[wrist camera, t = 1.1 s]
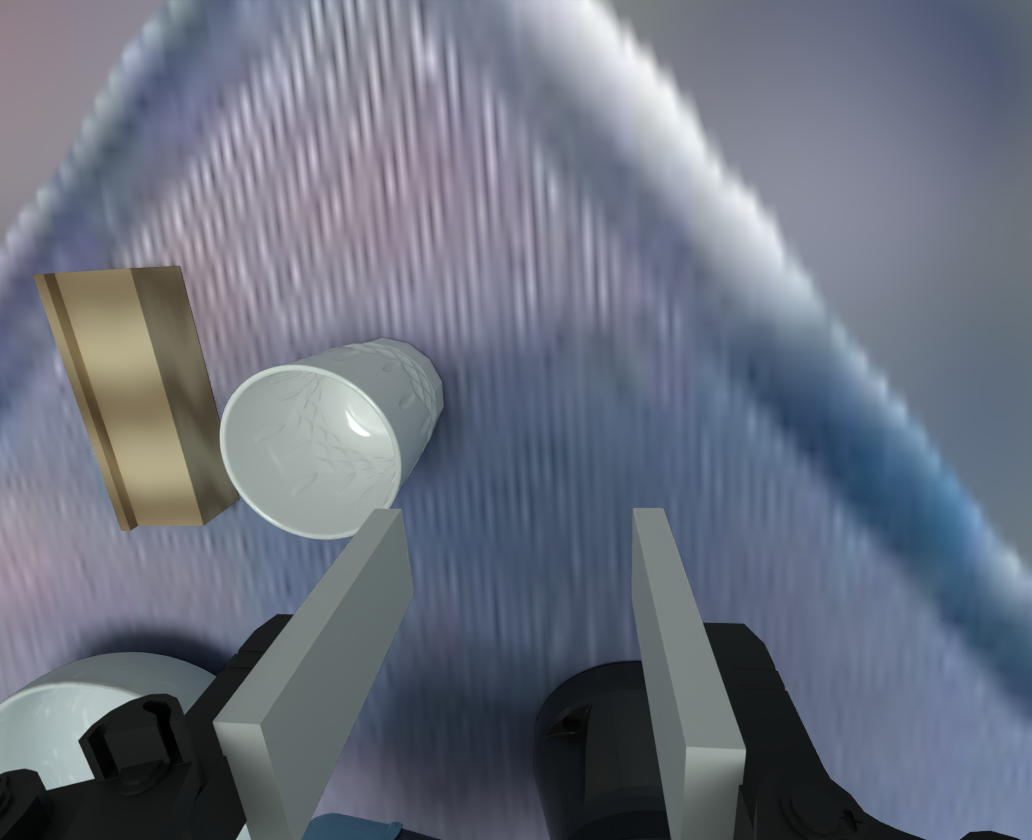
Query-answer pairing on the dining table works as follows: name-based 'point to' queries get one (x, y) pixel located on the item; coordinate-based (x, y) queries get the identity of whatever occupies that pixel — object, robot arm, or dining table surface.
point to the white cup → (331, 435)
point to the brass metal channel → (141, 392)
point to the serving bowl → (86, 710)
